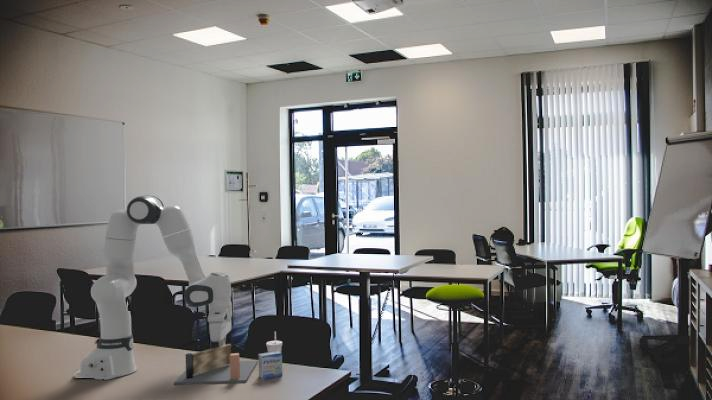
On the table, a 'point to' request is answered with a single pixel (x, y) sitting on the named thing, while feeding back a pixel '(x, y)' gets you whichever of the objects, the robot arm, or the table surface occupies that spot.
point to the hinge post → (189, 366)
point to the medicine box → (270, 364)
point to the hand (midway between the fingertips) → (222, 347)
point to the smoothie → (274, 345)
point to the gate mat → (219, 375)
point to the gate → (211, 358)
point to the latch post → (234, 366)
